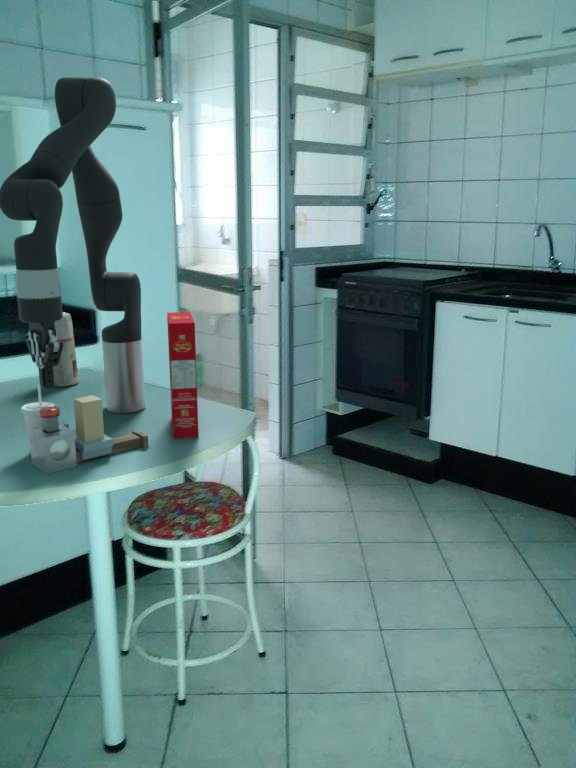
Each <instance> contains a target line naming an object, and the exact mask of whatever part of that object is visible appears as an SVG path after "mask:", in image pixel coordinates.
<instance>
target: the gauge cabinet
mask: <svg viewBox="0 0 576 768" xmlns="http://www.w3.org/2000/svg"><path fill="white" fill-rule="evenodd" d="M74 435H75V431H74V430H72V429H71V428H70V427H69V428H67V427H65V426H64V425H62V424H60V423H59V431H58V432H54V433H49V434H46V433H45V432H43V426H42V427H37V428H32V429H29V435H28V438H29V437H30V439H29V445H30V456H31V457H30V458H31V464H32V465H33V464H34V466H35V467H36V468H37V469H38V470H41V472H43V473H44V474H46V475H47V474H51V473H56V472H61V471H64V470H68V469H71V468H75V467H78V464H77V463H78V462H76V449H75V437H74Z"/></svg>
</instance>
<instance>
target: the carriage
mask: <svg viewBox="0 0 576 768" xmlns="http://www.w3.org/2000/svg"><path fill="white" fill-rule="evenodd" d="M73 406H74V408H73V409H74V410H73V411H74V422H75V430H76V431H75V432H76V434H74V437H75V447H76V448H77V449H79V450H80V451H81V459H83V460H84V459H88V458H92V457H96V456H100V455H104V454H109V453H112V448H111V447H112V446H113V438H112V437H109V436H108V435H107V434H105V427H104V413H103V399H102V398H100V397H98V396H96V395H94V394H93V395H87V396H81V397H75V398H73ZM58 423H60V424H62V425H64V426H65V427H67V428H69V429H70V423H69V422H66V421H65V420H63V419H61V418H59V417H58ZM109 455H110V454H109ZM84 461H85V460H84Z"/></svg>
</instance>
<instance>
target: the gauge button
mask: <svg viewBox="0 0 576 768" xmlns="http://www.w3.org/2000/svg"><path fill="white" fill-rule="evenodd" d="M39 413H40V417H41V418H42V421H43V432H45V433H46V434H49V433H54V432H58V431H59V423H58V418H59V416H60V415H61V412H60V407H59V406H55V407H44V408H41V409H40V410H39Z"/></svg>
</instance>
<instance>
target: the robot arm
mask: <svg viewBox="0 0 576 768" xmlns="http://www.w3.org/2000/svg"><path fill="white" fill-rule="evenodd" d="M116 98H117V97H116V93H115V91H114V88H113V86H112V84H111V82H110V81H108V80H106V79H105V78H102V77H96V76H90V77H88V76H64V77H60V78H59V79H57V81H56V83H55V86H54V103H55V109H56V113H57V118H58V121H59V126H60V127H58V128H56V129H55V130H53V131H52V132H50V133H49V134H47V135H46V136H45V137H44V138H43V139H42V140H41V141H40V143H39V144H38V145H37V146H36V149H35V150H34V152H33V154H32V155H31V157H30V158H29V160H28V161H27V162H25V163H23V164H22V165H20V166H19V167H18V168H17V169H16V170H15V171H13V172H12V173H11V174H10V175H9V176H8V177H6V179H5V180H4V181H3V182H2V184H1V186H0V211H1V212H2V213H3V214H4V216H6V217H7V218H8V219H10V220H13V221H17V222H18V221H21V222H22V221H24V222H25V221H26V222H27V221H35V224H34V228H33V230H32V232H30V233H26V234H23V235H22V234H21V235H20V236H17V237H16V238H15V239H14V242H13V249H14V250H13V251H14V258H15V261H14V262H15V268H16V269H15V272H16V273H15V275H16V276H15V287H16V298H17V308H18V310H17V311H18V318H19V320H20V321H21V322H23V323H28V332H27V333H25V334H24V340H25V343H26V347H27V349H28V352H29V355H30V357H31V362H32V363H35V365H36V367H37V369H38V376H39V384H40V387H41V388H42V389H49V388H50V389H51V388H54V373H53V367H55V366H57V365H58V364H59V360H60V356H61V353H62V349H63V342H62V341H57V331H56V328H55V324H54V323H55V321H58V320H61V319H62V318H63V312H64V311H63V302H62V289H61V288H62V287H61V280H60V274H59V270H58V269H59V268H58V257H57V240H58V234H59V228H60V223H61V220H62V219H61V218H62V214H63V207H64V200H63V195H62V194H63V193H62V192H61V190H60V189H62V188H63V186H64V185H65V183H66V182H67V181H68V179H69V177H70V175H71V174H72V179H73V180H72V181H73V185H74V192H75V198H76V204H77V209H78V215H79V219H80V224H81V227H82V233H83V238H84V243H85V249H86V254H87V255H86V256H87V264H88V274H89V282H90V283H89V285H90V291H91V297H92V302H93V304H94V306H95V308H96V310H99V311H102V312H124V314H123V315H124V316H123V318H122V319H121V320H120V321H118V322H116V323H115V322H114V323H113V324H110V325H107V326H105V327H103V328H102V329H101V340H102V341H101V343H102V354H103V355H102V356H103V358H102V359H103V375H104V376H103V377H104V389H105V404H106V410H107V411H108V412H110V413H113V414H114V413H116V414H129V413H130V414H131V413H137V412H140V411H143V410H144V409H146V396H145V375H144V360H143V359H144V358H143V343H142V339H143V338H142V337H143V336H142V288H141V287H142V286H141V280H140V277H139V276H138V274H137V273H135V272H132V271H108V270H107V264H106V263H107V255H108V252H109V250H110V246H111V244H112V242H113V240H114V239H115V237H116V235H117V233H118V231H119V229H120V226H121V224H122V222H123V221H122V220H123V208H122V207H123V206H122V201H121V195H120V190H119V186H118V184H117V182H116V181H115V179H114V177H113V176H112V175H111V173H110V171H108V169H107V168H106V167H105V165H104V164H103V163H102V162H101V159H99V158H98V156H97V155H96V154H95V152H94V150H93V149H92V146H91V145H92V144H93V143H94V142H95V141H96V140H97V138H98V137H99V136H101V134H102V133H103V132H104V131H105V130H106V129H107V128H108V126H110V125H111V123H112V121H113V120H114V117H115V115H116V109H117V100H116Z"/></svg>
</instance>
